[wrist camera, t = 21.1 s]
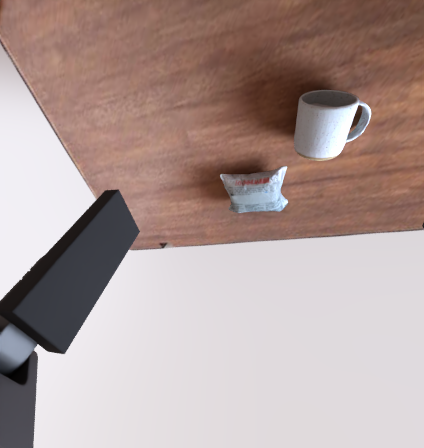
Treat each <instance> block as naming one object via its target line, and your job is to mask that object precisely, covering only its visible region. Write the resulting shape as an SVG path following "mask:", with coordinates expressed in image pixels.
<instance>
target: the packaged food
mask: <svg viewBox="0 0 424 448" xmlns="http://www.w3.org/2000/svg"><path fill="white" fill-rule="evenodd" d="M286 169H287V166H282V167H279V168H277V169H275V170H272V171H266V172H260V173H252V174H221V175H220V177H221V179H222V181H223V183H224V185H225V186H224V188H225V189H226V190H227V192H228V193H229V196H230V200H231V203H232V204H231V205H230V207H229V210H230V211H233V212H237V213H242V212H251V211H281V210H282V209H284V208H285V206H286V205H287V204H288V201H287V199H285V198H284V197H283V196H282V194H281V193H280V191H281V186H282V182H283V178H284V175H285V172H286Z"/></svg>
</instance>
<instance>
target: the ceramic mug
mask: <svg viewBox="0 0 424 448" xmlns="http://www.w3.org/2000/svg"><path fill="white" fill-rule="evenodd" d="M358 105H361V106H362V109H363V110H362V115H361V118H360V120H359V122H358V124H357V126H356V128H355V129H354V130H353V131H352V132H351V133H349V134H348V132H349V129H350V127H351V124H352V121H353V118H354V115H355V113H356V110H357V107H358ZM370 117H371V110H370V108H369V106H368V105H367V104H365V103H364V102H362V101H359V98H358V97H357V96H355V95H353V94H351V93H348V92H343V91H338V90H317V91H312V92H308V93H305V94H303V95H302V96H301V97H300V98H299V104H298V112H297V120H296V129H295V136H294V148H295V151H296V152H297V153H298V154H299V155H300V156H302V157H304V158H306V159H310V160H316V161H323V160H329V159H332V158H334V157H336V156H338V155H339V154H340V152H341V150H342V149H343V147H344V145H345V142H349V141H352V140H353V139H355V138H357V137H358V136H359V135H360V134H361V133H362V132H363V131H364V130H365V128H366V126H367V125H368V123H369V120H370Z"/></svg>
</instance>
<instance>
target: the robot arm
mask: <svg viewBox="0 0 424 448" xmlns="http://www.w3.org/2000/svg"><path fill="white" fill-rule="evenodd" d="M422 226H423V228H424V223H423V225H422ZM139 232H140V231H139V229H138V227H137V225H136V223H135V221H134V219H133V217H132V215H131V213H130V211H129V209H128V207H127V205H126V203H125V201H124V199H123V197H122V195H121V193H120V191H119V190H105V191H104V193H103V194H102V195H101V196H100V197H99V198H98V199H97V200H96V201H95V202H94V203H93V204H92V205H91V207H90V208H89V209H88V210H87V211H86V212H85V213H84V214H83V215H82V216H81V217H80V218H79V219H78V220H77V221H76V223H75V224H74V225H73V226H72V227H71V228H70V229H69V230H68V231H67V232H66V233H65V234H64V235H63V237H62V238H61V239H60V240H59V241H58V242H57V243H56V244H55V245H54V246H53V247H52V248H51V249H50V250H49V251H48V253H47V254H46V255H44V256H43V257H42V258H40V259H39V260H38V261H37V262H36V264H35V265H34V266H33V267H32V268H31V269H30V271H28V272H27V273H26V274H25V275H24V276H23V278H22V280H20V281H19V282H18V283H17V284H16V285H15V286H14V287H13V288H12V289H11V290H10V291H9V292H8V293H7V294H6V295H5V297H4V298H3V299H2V300H1V301H0V448H33V441H34V422H35V421H34V420H35V402H36V383H37V363H38V356H37V353H36V352H35V351H34V348H35V347H36V346H37V344H39V345H40V346H41V347H43V348H44V349H45V350H46V351H48V352H54V353H61V354H65V352H66V351H67V349H68V347H69V346H70V344H71V343H72V341H73V339H74V338H75V336H76V335H77V333H78V331H79V330H80V328H81V326H82V325H83V323H84V322H85V320H86V318H87V317H88V315H89V313H90V312H91V310H92V308H93V307H94V305H95V304H96V302H97V300H98V299H99V297H100V295H101V294H102V292H103V291H104V289H105V287H106V286H107V284H108V283H109V281H110V279H111V278H112V276H113V274H114V273H115V271H116V270H117V268H118V266H119V265H120V263H121V261H122V260H123V258H124V257H125V255H126V253H127V252H128V250H129V248H130V247H131V245H132V244H133V242H134V240H135V239H136V237H137V235H138V234H139Z"/></svg>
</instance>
